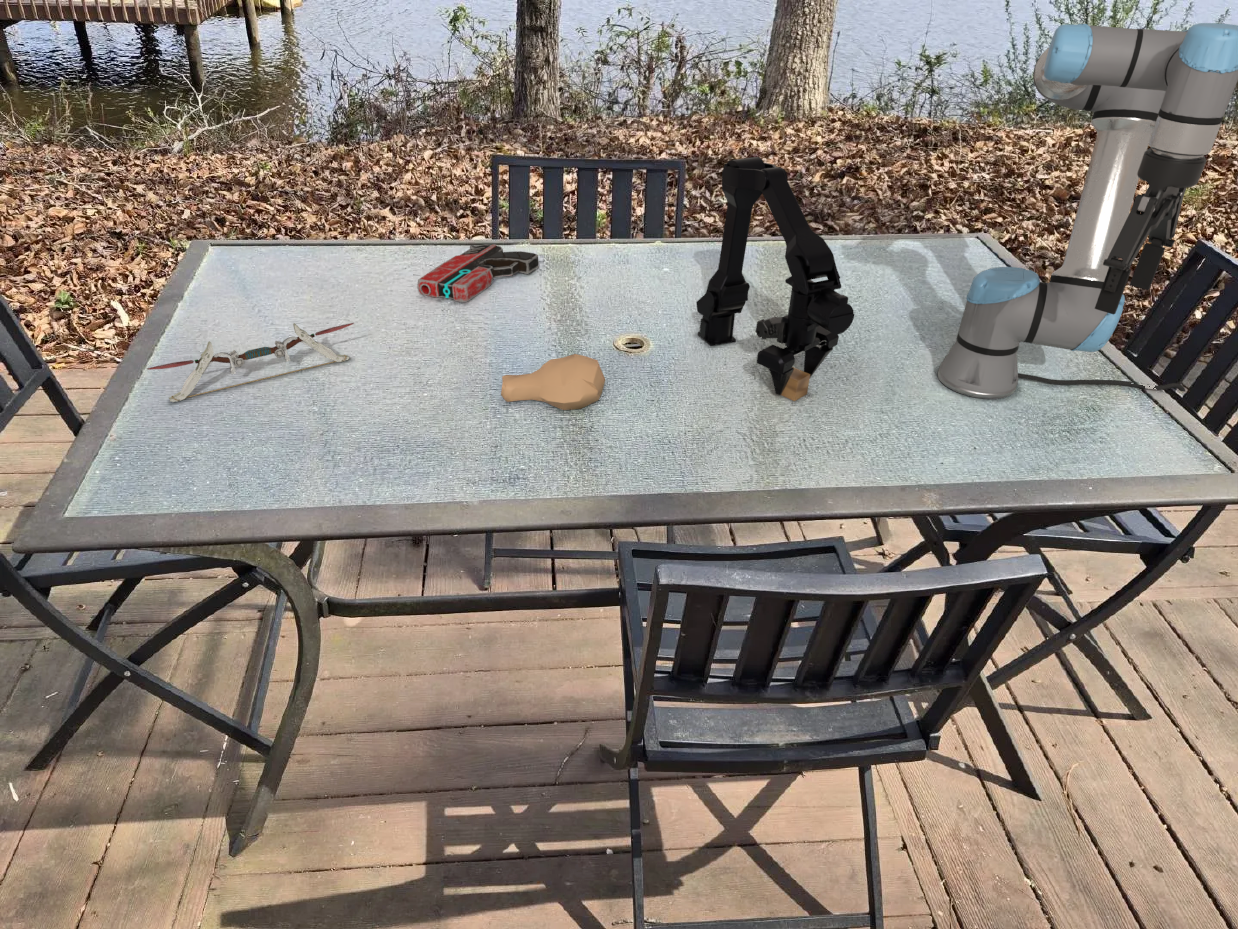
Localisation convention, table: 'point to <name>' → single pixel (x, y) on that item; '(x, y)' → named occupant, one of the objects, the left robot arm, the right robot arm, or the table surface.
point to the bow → (250, 354)
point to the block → (796, 385)
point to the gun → (474, 272)
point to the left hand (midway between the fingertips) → (792, 386)
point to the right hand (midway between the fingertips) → (1122, 298)
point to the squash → (558, 383)
